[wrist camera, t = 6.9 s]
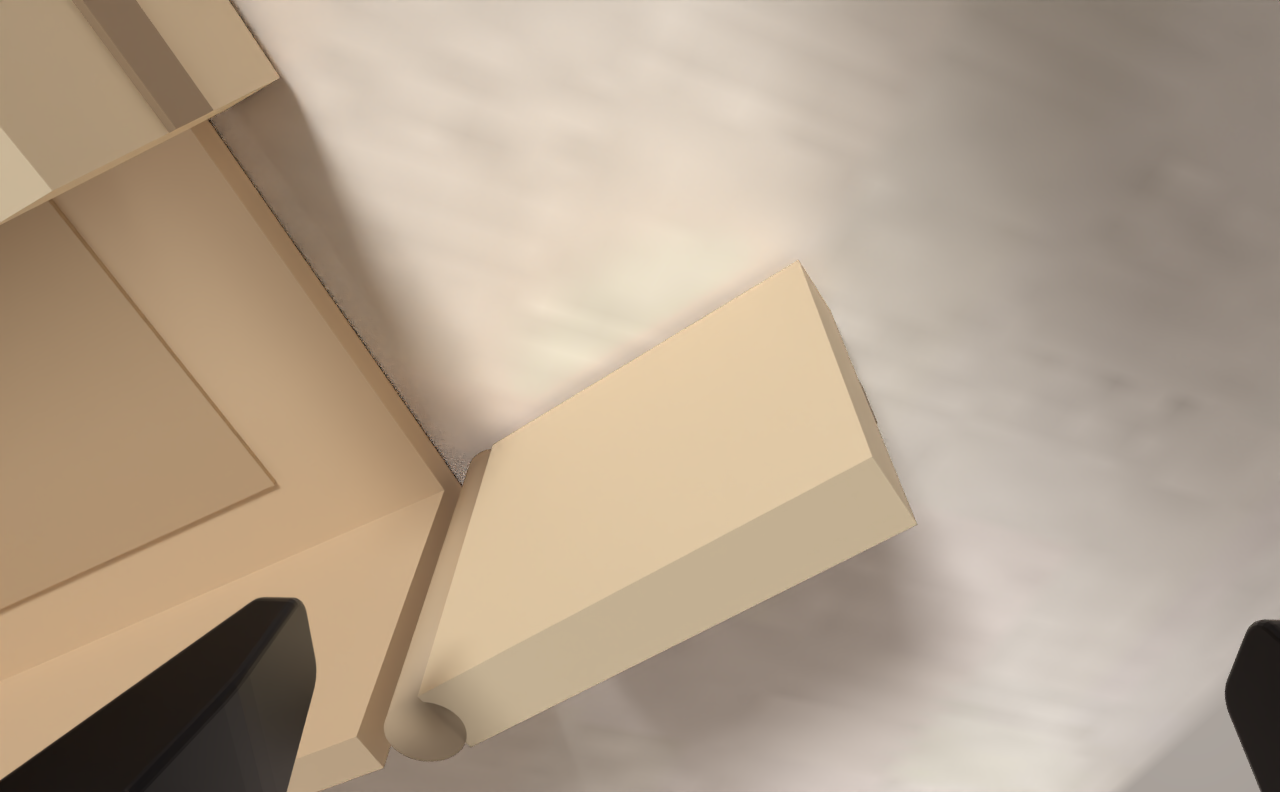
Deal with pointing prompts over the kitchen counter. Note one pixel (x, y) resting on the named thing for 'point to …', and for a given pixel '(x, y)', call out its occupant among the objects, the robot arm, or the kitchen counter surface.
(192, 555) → the carton
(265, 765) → the robot arm
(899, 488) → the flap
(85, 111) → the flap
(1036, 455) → the kitchen counter surface
